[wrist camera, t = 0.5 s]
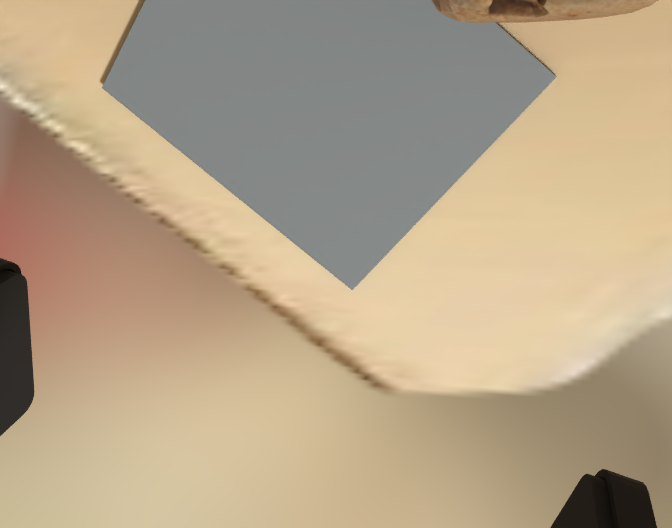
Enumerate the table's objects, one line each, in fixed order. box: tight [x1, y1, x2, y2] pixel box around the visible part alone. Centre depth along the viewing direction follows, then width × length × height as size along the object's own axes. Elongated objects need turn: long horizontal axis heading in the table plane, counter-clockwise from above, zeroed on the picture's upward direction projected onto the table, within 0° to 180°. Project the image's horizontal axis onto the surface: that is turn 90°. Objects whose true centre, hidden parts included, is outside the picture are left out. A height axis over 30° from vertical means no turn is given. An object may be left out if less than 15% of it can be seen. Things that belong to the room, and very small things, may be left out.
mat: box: [102, 0, 556, 290], centre depth 37 cm, size 19×22×1 cm
